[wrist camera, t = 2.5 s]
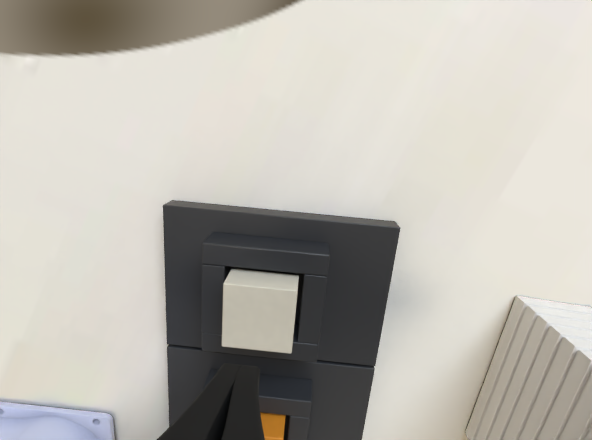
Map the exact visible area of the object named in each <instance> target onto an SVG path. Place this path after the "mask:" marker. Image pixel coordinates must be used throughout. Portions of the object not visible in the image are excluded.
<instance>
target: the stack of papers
mask: <svg viewBox="0 0 592 440" xmlns="http://www.w3.org/2000/svg"><path fill="white" fill-rule="evenodd" d="M465 433H466V435H467V437H468V439H469V440H592V307H587V306H581V305H574V304H568V303H561V302H555V301H548V300H542V299H535V298H529V297H522V296H516V298H515V300H514V303H513V306H512V308H511V311H510V314H509V316H508V319H507V322H506V324H505V327H504V330H503V332H502V335H501V338H500V340H499V343H498V346H497V349H496V351H495V354H494V357H493V359H492V362H491V365H490V367H489V370H488V373H487V375H486V378H485V381H484V383H483V386H482V389H481V391H480V394H479V397H478V399H477V402H476V405H475V408H474V410H473V413H472V416H471V418H470V421H469V424H468V426H467V429H466V432H465Z"/></svg>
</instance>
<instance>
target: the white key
mask: <svg viewBox="0 0 592 440" xmlns="http://www.w3.org/2000/svg"><path fill="white" fill-rule="evenodd" d="M298 282H299V275H292V274H282V273H272V272H262V271H252V270H241V269H231V271H230V272H229V274H228V276H227V278H226V280H225V282H224V283H223V312H222V346H223V347H232V348H242V349H251V350H261V351H270V352H280V353H289V354H291V353H292V345H293V334H294V324H295V314H296V303H297V293H298Z"/></svg>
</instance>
